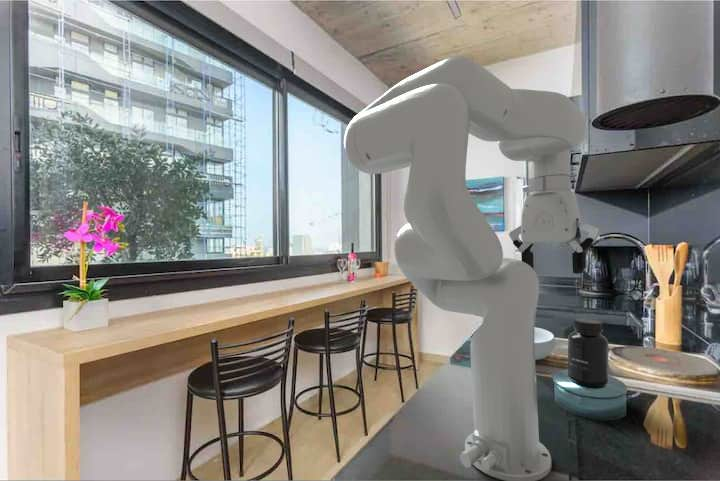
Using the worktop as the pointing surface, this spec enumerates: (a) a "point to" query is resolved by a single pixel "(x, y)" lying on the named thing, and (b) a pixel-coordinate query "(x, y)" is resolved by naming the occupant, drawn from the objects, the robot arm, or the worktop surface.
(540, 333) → the cereal bowl
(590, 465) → the worktop surface
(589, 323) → the supplement bottle
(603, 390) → the biscuit tin
